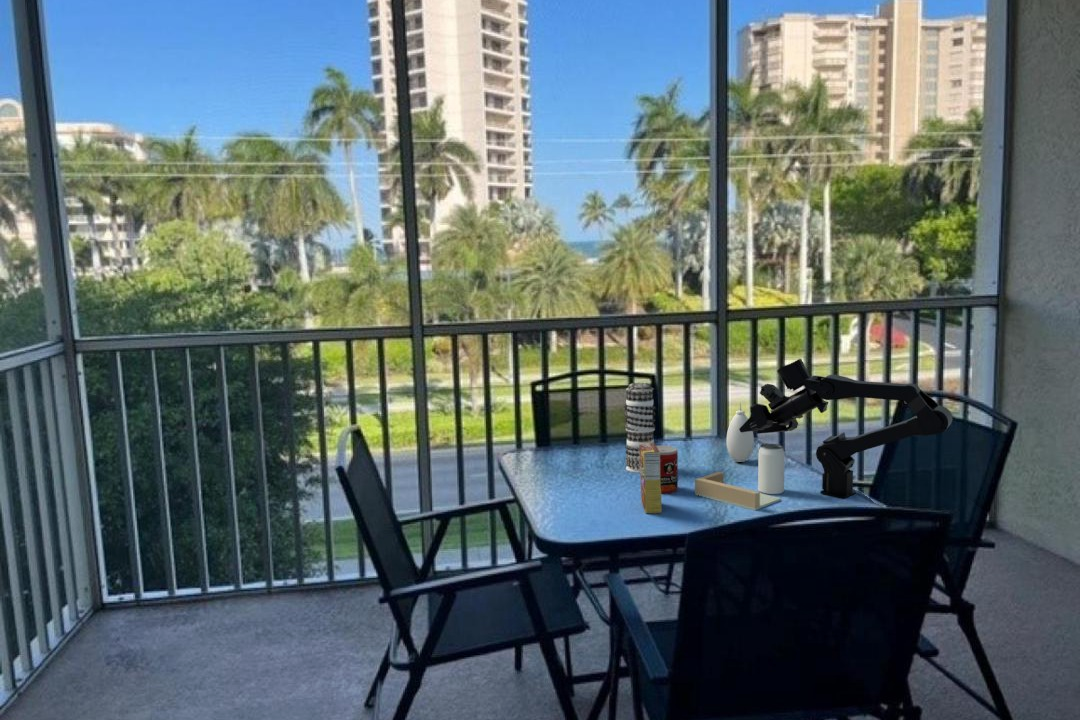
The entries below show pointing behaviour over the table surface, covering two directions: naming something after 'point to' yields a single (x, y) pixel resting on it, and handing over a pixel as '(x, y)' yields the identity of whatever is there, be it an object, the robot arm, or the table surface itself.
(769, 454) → the can
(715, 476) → the cleat board
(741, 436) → the sauce bottle
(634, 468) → the decorative candle
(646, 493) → the candy box
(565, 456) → the table surface
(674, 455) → the canned food
